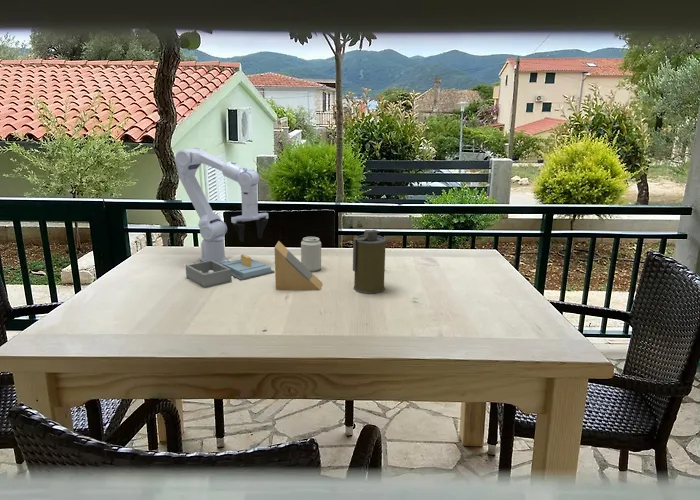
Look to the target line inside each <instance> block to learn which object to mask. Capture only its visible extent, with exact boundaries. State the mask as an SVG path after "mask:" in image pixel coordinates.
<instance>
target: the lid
mask: <svg viewBox="0 0 700 500" xmlns="http://www.w3.org/2000/svg"><path fill="white" fill-rule="evenodd" d="M221 265H223V266H225V267H227V268H229V269H231V272H232V273H234V274H236V275H238V276H240V277H242V278H247V277H251V276H256V275H260V274H264V273H268V272H271V270H272V266H269V265H267V264H264V263H262V262H259V261H258V260H256V259H253V258H252V257H251V256H249V255H248V254H247V255H246V254H244V253H243V254H240V259H236V260H231V261H230V260H229V262H225V263H221Z"/></svg>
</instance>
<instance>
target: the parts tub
mask: <svg viewBox="0 0 700 500" xmlns="http://www.w3.org/2000/svg"><path fill="white" fill-rule="evenodd" d="M185 273H186V274H185V276H186V279H189V280H190V281H192V282H194V283H195V284H197V285H199V286H201V287H203V288H205V289H206V288H210V287H215V286H219V285H223V284H228V283H231V282H232V281H233V280H232V276H231V269H229V268H227V267H225V266H223V265H222V263H220V264H219V263H217V262H215V261H213V260H210V261H205V262H203V261H200V262H196V263H190V264H185Z"/></svg>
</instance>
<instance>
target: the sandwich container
mask: <svg viewBox="0 0 700 500" xmlns="http://www.w3.org/2000/svg"><path fill="white" fill-rule="evenodd" d="M274 271H275V273H274V275H275V276H274V277H275V279H274V280H275V290H276V291H282V290H283V291H322V287H323V281H322V280H320V279H319V278H318V277H317V276H316V275H315V274H314V273H313V272H311V271H309V270H308V269H307V268H306V267H305V266H304V265H303V264H302V263H301V260H299V258H297V257H296V256H295V255H294V254H293V253H292V252H291V251H290V250H289V249H288V248H287V247H286V246H285V245H284V244H283V243H282V242H281V241H280V240H278V241H277V243H276V244H275V246H274Z"/></svg>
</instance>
